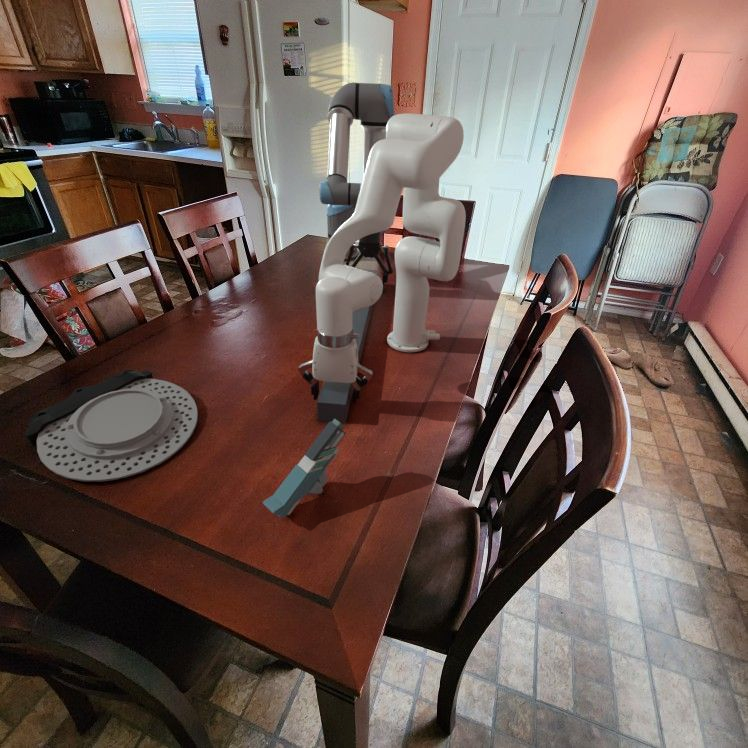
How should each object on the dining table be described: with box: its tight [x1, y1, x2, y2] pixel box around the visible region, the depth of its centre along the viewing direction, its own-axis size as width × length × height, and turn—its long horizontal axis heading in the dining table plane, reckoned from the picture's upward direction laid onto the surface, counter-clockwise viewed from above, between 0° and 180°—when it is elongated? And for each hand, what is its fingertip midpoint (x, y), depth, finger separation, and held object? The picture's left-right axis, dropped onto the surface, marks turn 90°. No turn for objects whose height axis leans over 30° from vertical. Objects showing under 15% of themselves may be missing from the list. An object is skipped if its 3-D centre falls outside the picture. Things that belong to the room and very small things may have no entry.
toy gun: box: [262, 419, 346, 520], centre depth 76 cm, size 4×19×10 cm
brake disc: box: [23, 369, 199, 483], centre depth 89 cm, size 32×30×5 cm
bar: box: [316, 269, 379, 424], centre depth 127 cm, size 83×6×6 cm, turn 175°
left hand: (367, 289), depth 157 cm, fingers open, 11 cm apart
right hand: (335, 398), depth 99 cm, fingers open, 9 cm apart
